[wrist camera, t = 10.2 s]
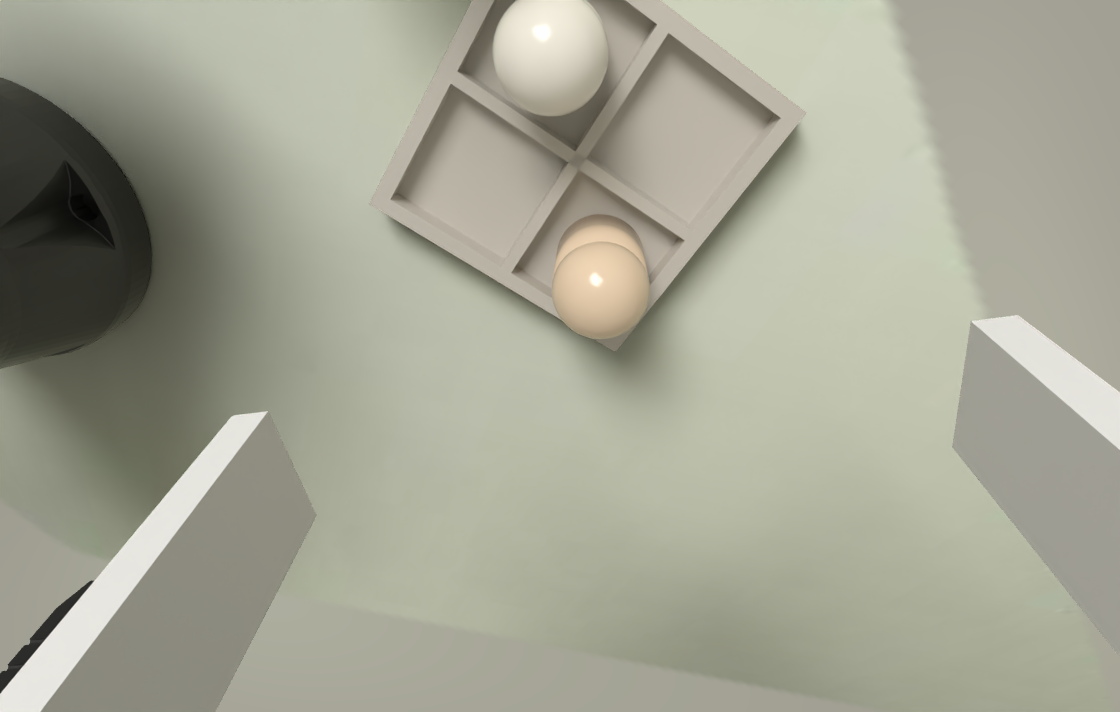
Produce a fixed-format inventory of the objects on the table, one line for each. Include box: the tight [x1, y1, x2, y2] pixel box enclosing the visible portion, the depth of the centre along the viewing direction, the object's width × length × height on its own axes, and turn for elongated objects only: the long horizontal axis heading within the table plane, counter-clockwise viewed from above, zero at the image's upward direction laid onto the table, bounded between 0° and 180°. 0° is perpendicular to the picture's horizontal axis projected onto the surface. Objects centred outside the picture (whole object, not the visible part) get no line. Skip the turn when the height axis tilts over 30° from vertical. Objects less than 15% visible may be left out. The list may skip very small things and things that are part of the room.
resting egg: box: [492, 0, 609, 116], centre depth 27 cm, size 5×5×7 cm
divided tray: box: [369, 0, 806, 352], centre depth 32 cm, size 15×15×2 cm
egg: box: [552, 214, 650, 339], centre depth 32 cm, size 5×5×7 cm
